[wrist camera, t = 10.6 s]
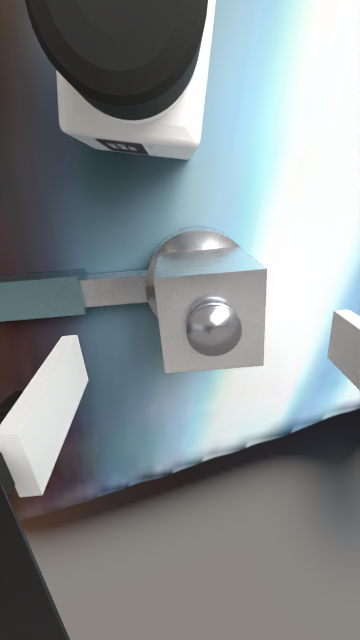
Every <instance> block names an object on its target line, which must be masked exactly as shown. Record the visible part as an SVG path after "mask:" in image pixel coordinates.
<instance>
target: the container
mask: <svg viewBox="0 0 360 640" xmlns="http://www.w3.org/2000/svg"><path fill="white" fill-rule="evenodd" d="M25 2H26V6H27V11H28V15H29V18H30V21H31V24H32V27H33V30H34V32H35V35H36V37H37V39H38V41H39V43H40V45H41V47H42V49H43V51H44V52H45V54H46V56H47V57H48V59H49V61H50V62H51V63H52V64H53V66H54V67H55V68H56V75H57V94H58V112H59V125H60V128H61V130H62V131H63V132H64V133H66V134H68V135H70V136H72V137H74V138H76V139H78V140H79V141H81V142H83V143H85V144H87V145H89V146H91V147H93V148H95V149H98V150H107V151H115V152H124V153H133V154H141V155H150V156H159V157H167V158H176V159H184V160H188V159H190V158H191V157H192V156H193V154H194V152H195V151H196V149H197V147H198V146H199V143H200V139H201V130H202V120H203V111H204V102H205V93H206V84H207V75H208V66H209V57H210V48H211V39H212V30H213V21H214V12H215V2H216V0H25Z"/></svg>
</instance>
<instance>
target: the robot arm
mask: <svg viewBox="0 0 360 640" xmlns="http://www.w3.org/2000/svg"><path fill="white" fill-rule="evenodd" d="M328 358H329V359H330V360H331V361H332V362H333V364H334V365H335V366H336V367H337V368H338V369H339V370H340V371H341V372H342V373H343V374H344V375H345V376H346V377H347V378H348V379H349V380H350V381H351V382H352V383H353V384H354V385H355V386H356V387H357V388H358V389H359V390H360V316H358V315H356V314H355V313H353V312H352V311H350V310H349V309H348V310H338V311H334V314H333V321H332V328H331V335H330V342H329V349H328ZM87 382H88V377H87V373H86V368H85V364H84V360H83V356H82V352H81V348H80V344H79V340H78V336H77V335H70V336H62V337H61V339H60V340H59V341H58V343H57V344H56V346H55V347H54V349H53V350H52V351H51V353H50V354H49V356H48V357H47V359H46V360H45V361H44V363H43V364H42V366H41V367H40V369H39V370H38V371H37V373H36V374H35V376H34V377H33V379H32V380H31V381H30V383H29V384H28V386H27V387H26V389H25V390H24V391H16V392H14V393H13V394H12V395H10V396H9V397H8V398H6V399H5V400H4V401H3V402H2V404H1V405H0V640H70V639H69V636H68V634H67V632H66V629H65V627H64V625H63V623H62V620H61V618H60V615H59V613H58V611H57V608H56V606H55V604H54V601H53V599H52V597H51V595H50V592H49V590H48V587H47V585H46V583H45V580H44V578H43V576H42V573H41V571H40V569H39V566H38V564H37V562H36V559H35V557H34V555H33V552H32V550H31V548H30V545H29V543H28V541H27V538H26V536H25V534H24V531H23V529H22V527H21V524H20V522H19V520H18V517H17V515H16V513H15V510H14V508H13V506H12V503H11V501H10V499H9V496H10V494H11V492H12V490H13V488H14V486H15V488H16V490H17V492H18V494H19V497H28V496H38V495H43V492H44V490H45V487H46V485H47V482H48V480H49V477H50V475H51V472H52V470H53V467H54V465H55V462H56V460H57V457H58V455H59V452H60V450H61V447H62V445H63V442H64V440H65V437H66V435H67V432H68V430H69V427H70V425H71V422H72V420H73V417H74V415H75V412H76V410H77V407H78V405H79V402H80V400H81V397H82V395H83V392H84V390H85V387H86V385H87Z"/></svg>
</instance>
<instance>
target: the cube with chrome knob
mask: <svg viewBox="0 0 360 640" xmlns="http://www.w3.org/2000/svg"><path fill="white" fill-rule="evenodd" d="M266 279H267V268H265V267H264V266H263V265H262V264H261V263H259V262H258V261H257V260H256V259H255V258H253V257H252V256H251V255H250V254H249V253H247V252H246V251H245V250H244V249H243V248H241V247H240V246H239V247H227V248H215V249H204V250H192V251H181V252H169V253H159V255H158V259H157V264H156V269H155V274H154V287H155V295H156V303H157V312H158V320H159V328H160V336H161V345H162V353H163V361H164V370H165V374H167V373H179V372H191V371H203V370H216V369H228V368H240V367H252V366H263V358H264V332H265V306H266Z"/></svg>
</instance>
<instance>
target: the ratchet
mask: <svg viewBox="0 0 360 640" xmlns="http://www.w3.org/2000/svg"><path fill="white" fill-rule="evenodd" d="M227 247H239V245H238V244H236V243H235V242H234V241H233V240H232V239H230V238H229V237H228V236H227V235H225V234H224V233H222V232H220V231H218V230H215V229H212V228H208V227H189V228H185V229H181V230H179V231H177V232H174V233H173V234H171V235H170V236H168V237H167V238H166V239H165V240H163V241H162V242H161V244H160V245H159V246H158V247H157V249H156V250H155V252H154V254H153V256H152V258H151V261H150V264H149V267H148V269H145V270H133V271H122V272H110V273H98V274H86V270H85V269H74V270H62V271H51V272H39V273H27V274H16V275H4V276H0V322H1V321H13V320H25V319H37V318H49V317H60V316H72V315H84V314H86V313H87V311H88V310H89V308H90V307H96V306H108V305H120V304H131V303H143V302H148V303H149V305H150V307H151V309H152V311H153V313H154V314H155V315H156V317H157V318H158V312H157V303H156V295H155V287H154V274H155V269H156V264H157V259H158V255H159V253H169V252H181V251H192V250H204V249H215V248H227Z"/></svg>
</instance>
